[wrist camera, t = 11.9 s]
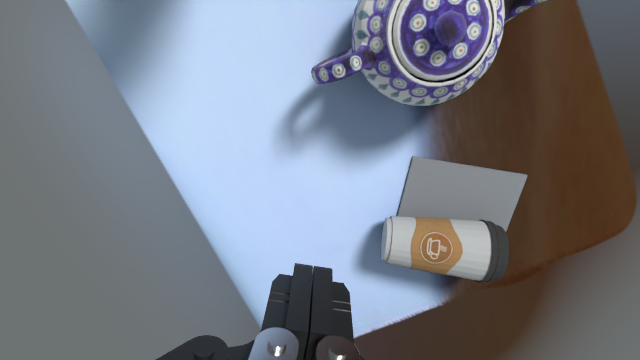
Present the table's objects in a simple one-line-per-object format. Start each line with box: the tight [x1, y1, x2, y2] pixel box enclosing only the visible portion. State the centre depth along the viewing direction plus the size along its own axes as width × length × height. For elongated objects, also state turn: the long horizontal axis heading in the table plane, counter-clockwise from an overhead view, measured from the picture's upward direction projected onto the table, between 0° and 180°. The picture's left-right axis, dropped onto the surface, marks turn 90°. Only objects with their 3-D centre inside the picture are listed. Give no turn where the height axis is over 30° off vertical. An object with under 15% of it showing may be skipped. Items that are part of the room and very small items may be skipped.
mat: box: [397, 156, 528, 232], centre depth 51 cm, size 16×14×1 cm
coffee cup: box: [381, 216, 509, 282], centre depth 48 cm, size 8×8×15 cm
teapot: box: [311, 0, 547, 106], centre depth 36 cm, size 25×15×15 cm, turn 108°
